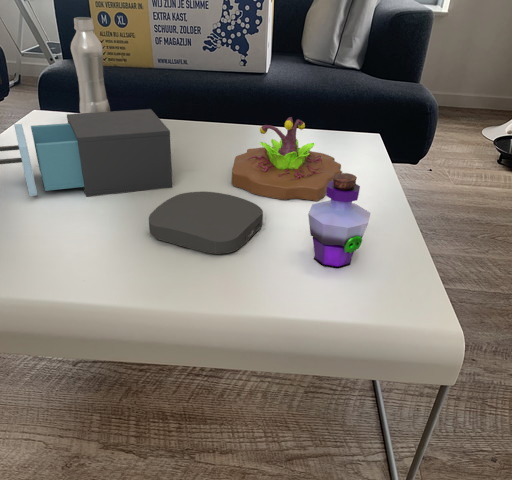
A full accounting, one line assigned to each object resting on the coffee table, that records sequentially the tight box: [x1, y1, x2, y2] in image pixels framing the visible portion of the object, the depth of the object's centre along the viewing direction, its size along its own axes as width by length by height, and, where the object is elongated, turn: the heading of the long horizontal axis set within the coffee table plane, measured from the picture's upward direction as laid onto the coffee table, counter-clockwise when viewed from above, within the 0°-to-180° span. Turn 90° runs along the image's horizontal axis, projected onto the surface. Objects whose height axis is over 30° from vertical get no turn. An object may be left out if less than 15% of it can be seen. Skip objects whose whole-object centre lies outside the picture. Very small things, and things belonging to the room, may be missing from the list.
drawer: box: [0, 122, 84, 197], centre depth 90 cm, size 18×11×8 cm, turn 112°
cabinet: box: [66, 108, 174, 197], centre depth 93 cm, size 15×13×10 cm
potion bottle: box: [307, 172, 371, 270], centre depth 73 cm, size 9×9×12 cm
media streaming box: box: [148, 191, 264, 255], centre depth 82 cm, size 15×15×3 cm
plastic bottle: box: [70, 16, 111, 114], centre depth 114 cm, size 6×7×20 cm
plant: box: [231, 116, 343, 202], centre depth 96 cm, size 20×20×11 cm
